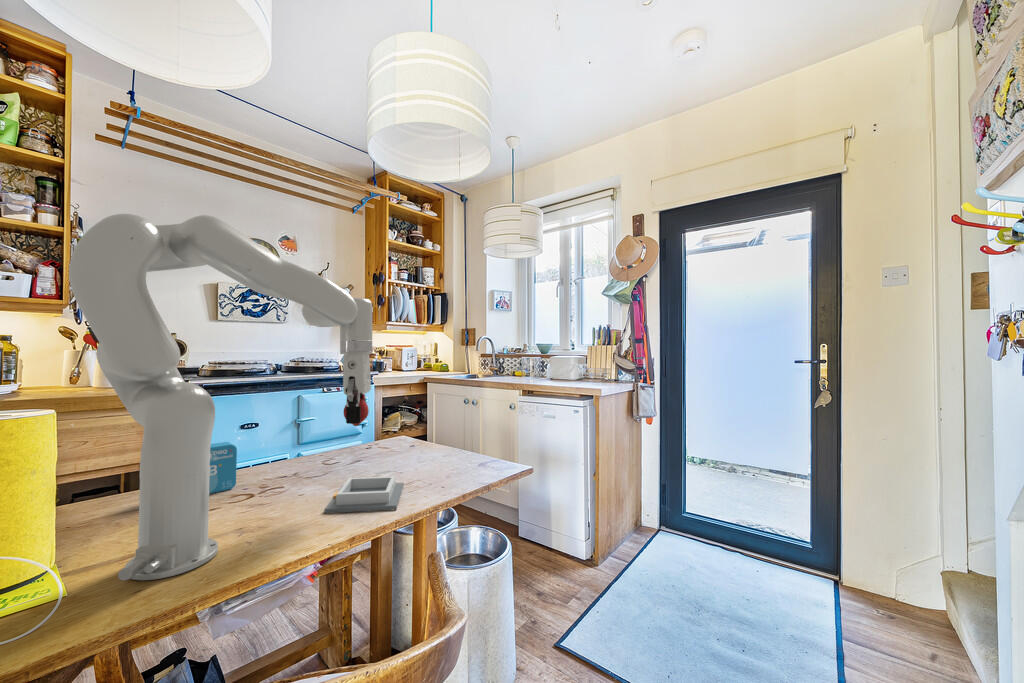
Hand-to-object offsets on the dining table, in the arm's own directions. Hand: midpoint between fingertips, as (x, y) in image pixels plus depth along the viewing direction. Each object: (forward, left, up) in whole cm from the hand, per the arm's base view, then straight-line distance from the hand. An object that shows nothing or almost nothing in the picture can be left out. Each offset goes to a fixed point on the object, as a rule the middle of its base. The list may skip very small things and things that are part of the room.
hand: (356, 419), depth 100 cm
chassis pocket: (+1, -3, -20) cm, 20 cm away
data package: (+11, +39, -20) cm, 46 cm away
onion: (0, 0, -2) cm, 2 cm away
